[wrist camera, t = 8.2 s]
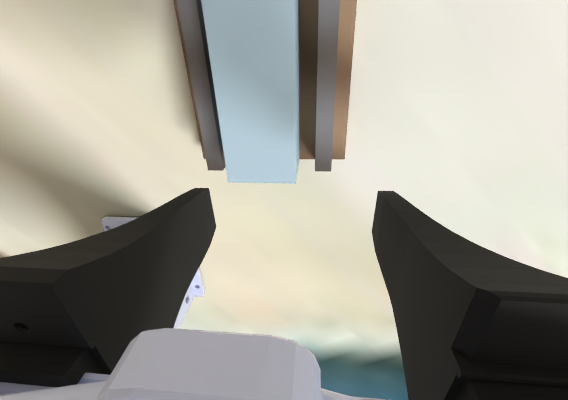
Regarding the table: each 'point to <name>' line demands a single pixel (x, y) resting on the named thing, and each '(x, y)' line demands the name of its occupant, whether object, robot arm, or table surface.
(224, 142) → the dome-topped blue pillar
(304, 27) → the cradle
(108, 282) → the robot arm
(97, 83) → the table surface
